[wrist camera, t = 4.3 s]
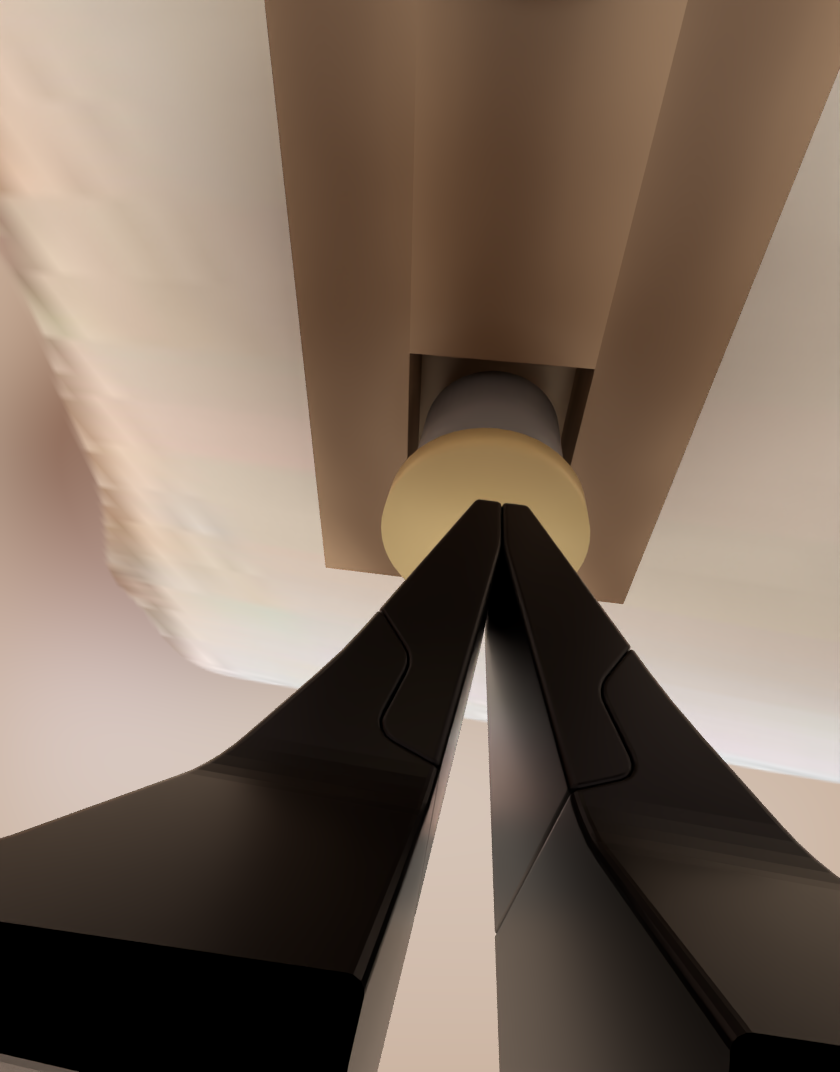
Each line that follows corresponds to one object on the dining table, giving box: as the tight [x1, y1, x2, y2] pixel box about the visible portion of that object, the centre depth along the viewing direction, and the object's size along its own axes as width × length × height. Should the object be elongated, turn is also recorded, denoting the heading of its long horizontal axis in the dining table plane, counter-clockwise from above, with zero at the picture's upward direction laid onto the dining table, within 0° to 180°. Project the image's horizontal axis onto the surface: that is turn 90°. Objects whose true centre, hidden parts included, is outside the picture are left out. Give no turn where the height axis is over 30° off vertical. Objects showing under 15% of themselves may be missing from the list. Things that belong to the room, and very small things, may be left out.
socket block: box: [265, 0, 840, 604], centre depth 14 cm, size 12×26×4 cm, turn 178°
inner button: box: [381, 371, 590, 580], centre depth 15 cm, size 5×5×6 cm
